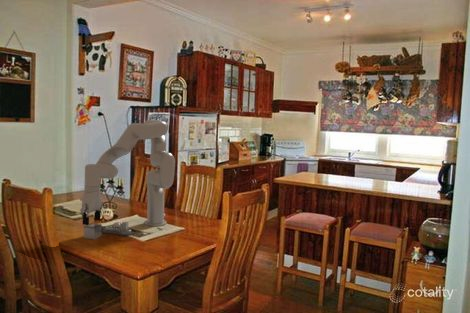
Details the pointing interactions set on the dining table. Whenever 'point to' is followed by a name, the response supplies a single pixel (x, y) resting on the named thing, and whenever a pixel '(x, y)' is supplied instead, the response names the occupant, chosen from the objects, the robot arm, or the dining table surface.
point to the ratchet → (118, 230)
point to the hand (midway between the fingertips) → (91, 222)
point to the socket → (92, 231)
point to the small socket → (117, 225)
